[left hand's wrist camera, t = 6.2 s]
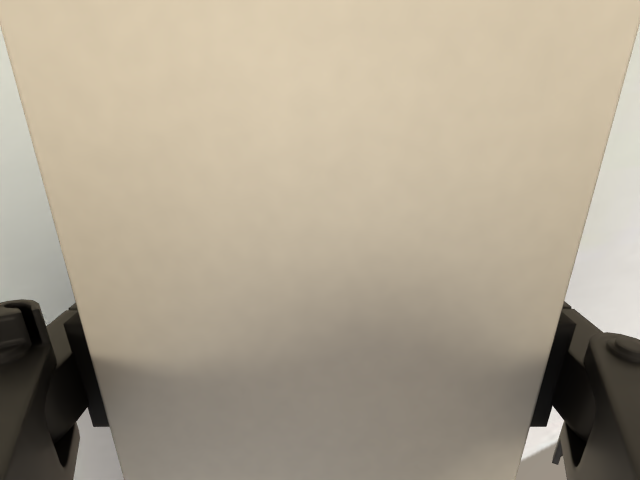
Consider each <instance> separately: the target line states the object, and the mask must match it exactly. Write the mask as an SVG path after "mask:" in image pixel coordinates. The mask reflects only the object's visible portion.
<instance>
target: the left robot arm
mask: <svg viewBox="0 0 640 480" xmlns="http://www.w3.org/2000/svg"><path fill="white" fill-rule="evenodd" d="M552 406H553V407H554V408H555V409H556V410H557V412H558V413H559V414H560V416H561V417H562V418H563V419H564V423H563V426H562V429H561V433H560V436H559V439H558V442H557V445H556V448H555V452H554V455H553V461H552V463H554V464H557V465H558V463H559V460H560V457H561V456H563V458H564V464H565V470H566V477H567V480H640V340H639V339H636V338H633V337H629V336H626V335H622V334H616V333H608V332H606V333H603V332H602V331H601V330H599V329H598V328H597V327H596V326H595V325H593V324H592V323H591V322H590V321H588V320H587V319H586V318H585V317H583V316H582V315H581V314H580V313H578V312H577V311H576V310H575V309H571V306H570V305H568V304H567V303H566V302H565V301H564V303H563V307H562V310H561V314H560V318H559V321H558V325H557V329H556V332H555V336H554V340H553V343H552V347H551V351H550V354H549V358H548V362H547V365H546V369H545V373H544V376H543V380H542V384H541V387H540V391H539V395H538V398H537V402H536V406H535V409H534V413H533V417H532V420H531V424H530V427H546V426H547V423H548V419H549V416H550V412H551V409H552ZM87 407H88V410H89V413H90V417H91V420H92V424H93V427H110V425H109V422H108V418H107V414H106V411H105V407H104V403H103V400H102V396H101V392H100V389H99V385H98V381H97V378H96V374H95V370H94V367H93V363H92V359H91V356H90V352H89V348H88V345H87V341H86V337H85V334H84V330H83V326H82V323H81V319H80V315H79V312H78V308H77V304H76V303H75V304H73V305H72V306H71V307H70V308H69V310H66V311H65V312H64V313H62V314H61V315H60V316H59V317H57V318H56V319H55V320H54V321H53V322H51V323H50V324H49V325H48V326H46V324H45V321H44V318H43V315H42V312H41V309H40V305H39V303H37V302H35V301H33V300H13V301H6V302H2V303H0V480H73V478H74V472H75V465H76V459H77V453H78V447H79V441H80V435H79V429H78V426H77V423H76V421H77V420H78V419H79V417H80V416H81V415H82V413H83V412H84V411H85V410H86V408H87Z"/></svg>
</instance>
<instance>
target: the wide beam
mask: <svg viewBox="0 0 640 480" xmlns="http://www.w3.org/2000/svg"><path fill="white" fill-rule="evenodd" d="M639 24H640V0H0V26H1V29H2V33H3V37H4V40H5V44H6V48H7V51H8V55H9V59H10V62H11V66H12V70H13V73H14V77H15V81H16V84H17V88H18V92H19V95H20V99H21V103H22V106H23V110H24V114H25V117H26V121H27V125H28V128H29V132H30V136H31V139H32V143H33V147H34V150H35V154H36V158H37V161H38V165H39V169H40V172H41V176H42V180H43V183H44V187H45V191H46V194H47V198H48V202H49V205H50V209H51V213H52V216H53V220H54V224H55V227H56V231H57V235H58V238H59V242H60V246H61V249H62V253H63V257H64V260H65V264H66V268H67V271H68V275H69V279H70V282H71V286H72V290H73V293H74V297H75V301H76V304H77V308H78V312H79V315H80V319H81V323H82V326H83V330H84V334H85V337H86V341H87V345H88V348H89V352H90V356H91V359H92V363H93V367H94V370H95V374H96V378H97V381H98V385H99V389H100V392H101V396H102V400H103V403H104V407H105V411H106V414H107V418H108V422H109V425H110V429H111V433H112V436H113V440H114V444H115V447H116V451H117V455H118V458H119V462H120V466H121V469H122V473H123V477H124V480H515V479H516V475H517V472H518V468H519V465H520V461H521V457H522V454H523V450H524V446H525V443H526V439H527V435H528V432H529V428H530V424H531V420H532V417H533V413H534V409H535V406H536V402H537V398H538V395H539V391H540V387H541V384H542V380H543V376H544V373H545V369H546V365H547V362H548V358H549V354H550V351H551V347H552V343H553V340H554V336H555V332H556V329H557V325H558V321H559V318H560V314H561V310H562V307H563V303H564V299H565V296H566V292H567V288H568V285H569V281H570V277H571V274H572V270H573V266H574V263H575V259H576V255H577V252H578V248H579V244H580V241H581V237H582V233H583V230H584V226H585V222H586V218H587V215H588V211H589V207H590V204H591V200H592V196H593V193H594V189H595V185H596V182H597V178H598V174H599V171H600V167H601V163H602V160H603V156H604V152H605V149H606V145H607V141H608V138H609V134H610V130H611V127H612V123H613V119H614V116H615V112H616V108H617V105H618V101H619V97H620V94H621V90H622V86H623V83H624V79H625V75H626V72H627V68H628V64H629V61H630V57H631V53H632V50H633V46H634V42H635V39H636V35H637V31H638V27H639Z"/></svg>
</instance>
